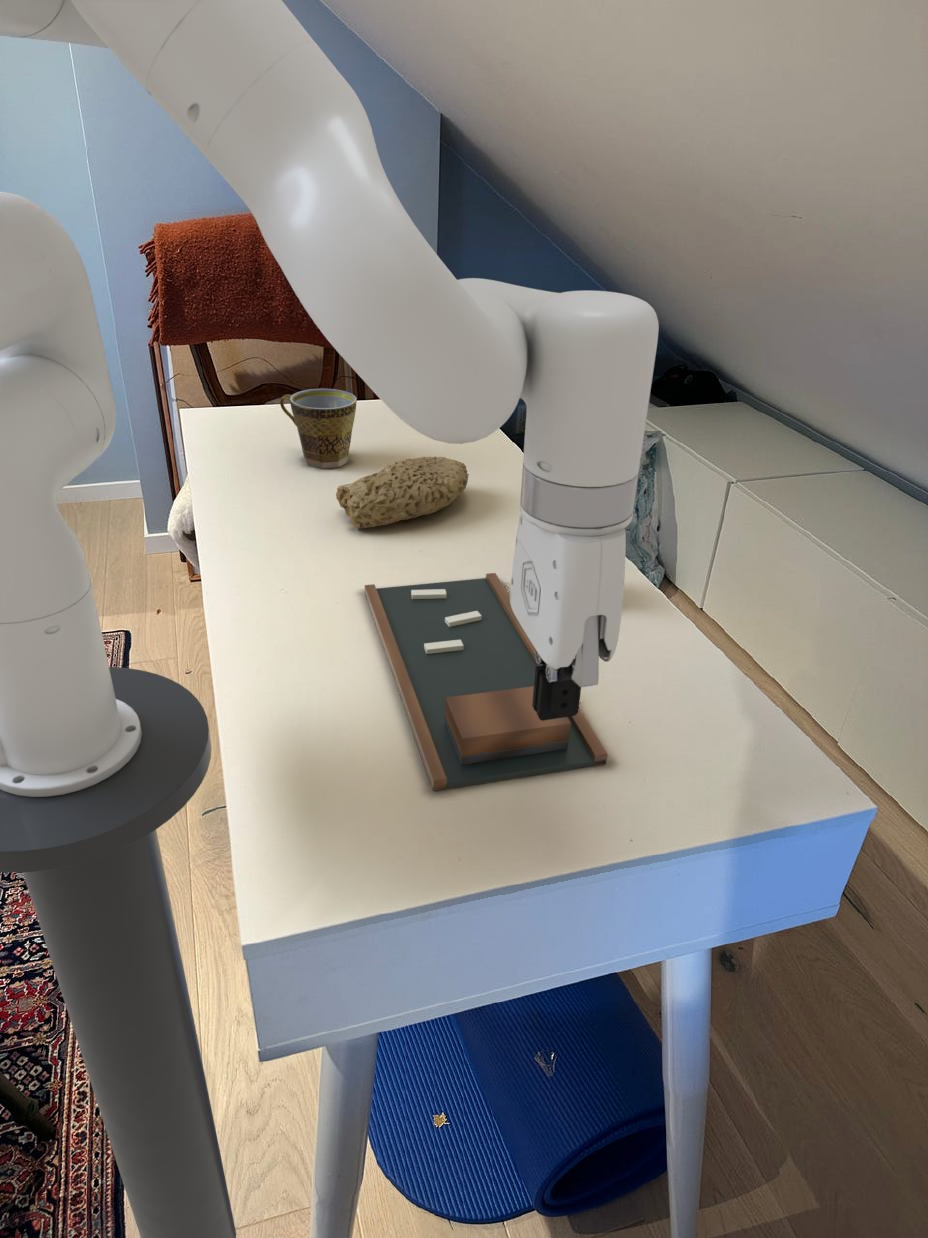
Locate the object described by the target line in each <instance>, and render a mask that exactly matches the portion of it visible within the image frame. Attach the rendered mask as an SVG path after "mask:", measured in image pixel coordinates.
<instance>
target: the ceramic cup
mask: <svg viewBox="0 0 928 1238" xmlns="http://www.w3.org/2000/svg"><path fill="white" fill-rule="evenodd" d="M285 399H286V400H288V401H289V404H290V409H291V412H290V411H288V409H287V408H286V406H285V403H284V401H285ZM357 402H358V401H357V397H356V395H354V394H353V393H351V392H348V391H345V390H341V389H335V388H313V389H312V388H309V389H304V390H301V391H300V390H299V391H298V392H295V393H293V394H284V395H282V396H281V398H280V400H279V406H280V408H281V410H282V411H283V412H284V414H285V415H286V416H287V417H288V418H289V419H290V420H291V421H292V422H293V424H294V426H295V427H296V428H297V429H296V430H297V434H298V436H299V440H300V446H301V451H302V454H303V459H304V461H305V463H306V464H307V466H309V467H313V468H317V469H321V470H324V469H335V468H341V467H342V466H343V465H345V464H348V461H349V455H350V448H351V441H352V434H353V433H352V432H353V426H354V424H355V417H356V411H357Z"/></svg>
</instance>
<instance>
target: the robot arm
mask: <svg viewBox="0 0 928 1238" xmlns="http://www.w3.org/2000/svg"><path fill="white" fill-rule="evenodd" d="M0 36H1V37H9V38H18V39H19V38H20V39H29V40H38V41H39V40H40V41H49V42H59V43H66V44H67V43H68V44H76V45H82V46H92V47H96V48H104V49H109V50H110V51H111V52H112V54H114V56H115V57H116V58H117V59H118V60H119V61H120V63H121V64H122V65H123V66H124V67H125V68H126V70H128V72H129V73H130V74H131V75H132V76H133V77H134V78H135V80H136V81H137V82H138V83H139V84H140V85H141V86H142V87H143V88H144V90H145V91H146V93H148V94H149V95H150V96H151V97H152V98H153V99H154V100H155V101H156V102H157V104H158V105H159V107H161V108H162V110H164V112H165V113H166V114H167V115H168V116H169V117H170V118H171V120H172V121H173V122H174V123H175V124H176V125H177V126H178V127H179V129H180V130H181V131H182V133H184V134H185V135H186V137H187V138H188V139H189V140H190V141H191V142H192V143H193V144H194V146H196V148H197V149H198V150H199V151H200V153H201V154H202V155H203V156H204V157H205V159H206V160H207V161H208V162H209V163H210V164H211V165H212V167H213V168H214V169H215V170H216V172H218V174H220V176H221V177H222V178H223V180H225V182H226V183H227V184H228V185H229V186H230V187H231V188H232V189H233V191H234V192H235V193H236V194H237V195H238V196H239V198H240V199H241V200H242V201H243V203H244V204H245V205H246V207H247V208H248V209H249V211H250V212H251V215H252V216H253V218H254V219H255V222H256V224H257V226H258V229H259V231H260V233H261V235H262V237H263V239H264V240H263V241H265V243H266V245H267V247H268V249H269V251H270V252H271V254H272V255H273V258H274V259H275V261H276V262H277V264H278V265H279V267H280V269H281V271H282V272H283V274H284V276H285V278H286V280H287V281H288V283H289V285H290V286H291V287H290V288H292V290H293V292H294V294H295V296H296V297H297V298H298V300H299V302H300V304H301V305H302V306H303V308H304V310H305V311H306V313H307V314H308V316H309V318H311V320H312V321H313V324H314V325H315V326H316V327H317V329H319V330H320V333H322V335H323V336H324V337H325V339H326V340H327V341H328V342H329V344H330V345H331V346H332V347H333V348H334V349H335V350H336V352H337V353H338V354H339V356H341V358H343V360H344V361H345V362H346V363H347V364H348V366H350V368H351V369H352V370H353V371H354V372H355V373H356V374H357V375H358V377H360V378H361V380H362V381H363V382H364V383H365V384H366V385H367V386H368V387H369V388H370V389H371V391H372V392H373V393H374V394H375V395H376V396H377V397H378V398H379V399H380V401H381V402H383V403H384V404H385V406H386V407H387V408H388V409H389V410H390V411H391V412H392V413H393V414H394V415H395V416H396V417H398V418H399V419H400V420H401V421H402V422H403V423H405V424H406V425H407V426H409V427H410V428H411V429H413V430H414V431H416V432H417V433H419V434H421V435H423V436H425V437H427V438H429V439H432V440H434V441H437V442H442V443H445V444H455V445H457V444H458V445H462V444H468V443H475V442H477V441H480V440H482V439H485V438H488V437H489V436H490V435H492V434H494V433H495V432H497V431H498V430H499V429H500V428H501V427H502V426H503V425H504V424H505V423H507V421H508V420H509V419H510V417H511V416H512V414H513V413H514V412H515V410H516V408H517V406H518V403H519V401H520V399H521V400H523V402H524V404H525V406H526V411H525V412H526V413H525V427H524V428H525V429H524V441H523V442H524V443H523V456H522V457H523V459H522V471H521V472H522V473H521V487H520V488H521V489H520V503H519V505H520V506H519V511H520V513H519V514H520V515H519V519H518V525H517V531H516V536H515V543H514V552H513V560H512V561H513V562H512V569H511V578H510V579H511V580H510V589H509V596H510V604H511V608H512V610H513V612H514V614H515V616H516V618H517V620H518V621H519V623H520V625H521V626H522V628H523V630H524V631H525V633H526V635H527V636H528V638H529V640H530V641H531V643H532V644H533V646H534V648H535V659H536V662H537V664H538V665H540V664H542V666H537V667H536V668H535V679H534V691H533V702H532V706H533V708H534V710H535V711H536V712H537V715H538V717H539V719H540V720H542V721H544V720H551V719H557V718H564V717H570V716H575V715H576V714H577V713H578V710H579V709H580V701H581V692H582V688H587V687H593V686H594V687H595V686H598V684H599V661H600V660H602V661H603V662H606V663H608V662H610V661H611V660H612V658H613V657H614V655H615V653H616V649H617V646H618V641H619V635H620V631H621V630H620V629H621V623H622V616H623V615H622V614H623V604H624V591H625V577H626V549H627V546H626V545H627V542H626V541H627V539H626V538H627V535H626V534H627V531H626V529H625V528H627V527H628V526H629V525H630V524H631V523H632V520H633V515H634V509H635V502H636V496H637V495H636V494H637V490H638V489H637V488H638V481H639V475H640V467H641V457H642V453H643V446H644V440H645V433H646V424H647V417H648V413H649V411H648V410H649V403H650V398H651V389H652V384H653V378H654V377H653V376H654V370H655V362H656V355H657V348H658V342H659V341H658V340H659V329H660V327H659V326H660V325H659V324H660V323H659V319H658V314H657V312H656V311H655V309H654V307H652V306H651V304H649V302H647V301H645V300H643V299H642V298H639V297H636V296H633V295H630V294H626V293H620V292H616V291H606V290H589V289H587V290H585V289H583V290H569V291H563V292H555V291H548V290H543V289H538V288H537V289H536V288H531V287H526V286H521V285H517V284H512V283H508V282H503V281H499V280H493V279H487V278H478V277H468V278H459V279H457V278H456V277H455V276H454V274H453V273H452V272H451V270H450V269H449V268H448V266H446V264H445V263H444V261H443V260H442V259H441V258H440V257H439V255H438V254H437V253H436V251H435V250H434V249H433V247H432V246H431V245H430V244H429V242H428V241H427V240H426V239H425V237H424V235H423V234H422V232H420V230H419V228H418V227H417V226H416V225H415V223H414V222H413V220H412V218H411V217H410V215H409V214H408V212H407V210H406V209H405V207H404V206H403V204H402V203H401V200H400V199H399V197H398V195H397V193H396V192H395V190H394V187H393V185H392V184H391V182H390V180H389V178H388V176H387V174H386V171H385V169H384V167H383V164H382V161H381V159H380V156H379V152H378V148H377V143H376V140H375V137H374V133H373V128H372V126H371V122H370V119H369V117H368V114H367V112H366V109H365V108H364V106H363V104H362V102H361V100H360V98H359V97H358V95H357V93H356V91H355V89H353V87H352V86H351V85H350V84H349V82H348V81H347V80H346V79H345V78H344V76H343V75H342V74H341V72H340V71H338V69H337V68H336V66H335V65H334V64H333V63H332V62H331V60H330V58H328V56H327V55H326V54H325V52H324V51H323V50H322V49H321V48H320V46H319V45H318V44H317V43H316V42H315V40H314V39H313V38H312V36H310V33H308V31H307V30H306V28H304V26H303V25H302V24H301V23H300V21H299V20H298V19H297V18H296V16H295V15H294V13H293V12H292V11H291V10H290V9H289V8H288V6H287V4H286V3H285V2H284V1H283V0H0ZM81 256H82V255H81V254H80V252H79V250H78V249H77V247H76V245H75V243H74V241H73V240H72V238H71V236H70V235H69V233H68V232H67V231H66V229H65V228H64V227H63V225H62V224H61V223H60V222H59V221H58V220H57V219H56V218H55V217H54V216H53V215H52V214H51V213H50V212H48V211H47V210H46V209H45V208H44V207H43V206H41V205H39V204H37V203H36V202H34V201H32V200H30V199H29V198H26V197H24V196H22V195H19V194H15V193H13V192H6V191H0V789H1V790H3V791H5V792H8V793H12V794H15V795H20V796H29V797H49V796H56V795H63V794H67V793H71V792H75V791H79V790H82V789H85V788H87V787H90V786H92V785H95V784H97V783H99V782H101V781H103V780H105V779H106V778H108V777H110V776H111V775H113V774H114V773H116V772H117V771H118V770H120V769H121V768H122V767H123V766H124V765H125V764H126V763H127V762H129V761H130V759H131V758H132V757H133V755H134V754H135V753H136V751H137V749H138V747H139V745H140V742H141V736H142V732H141V725H140V721H139V718H138V715H137V714H136V712H135V711H134V710H133V709H132V708H131V707H130V706H129V705H127V704H126V703H124V702H122V701H120V700H118V699H116V698H115V693H114V689H113V684H112V679H111V674H110V669H109V667H110V664H109V661H108V656H107V655H108V654H107V651H106V646H105V642H104V637H103V632H102V626H101V622H100V617H99V613H98V609H97V608H98V607H97V603H96V597H95V593H94V588H93V584H92V579H91V577H90V571H89V566H88V563H87V559H86V555H85V552H84V549H83V546H82V544H81V542H80V539H79V538H78V536H77V535H76V534H75V532H74V531H73V529H72V527H70V525H69V524H68V523H67V521H66V519H65V518H64V516H63V515H62V513H61V512H60V510H59V508H58V503H57V496H58V494H59V492H60V491H61V490H63V488H65V487H66V486H67V485H69V483H70V482H71V481H72V480H74V479H75V478H76V477H78V476H79V475H80V474H81V473H83V472H84V471H85V470H87V469H88V468H89V467H90V466H91V465H93V464H94V463H95V462H96V461H97V460H98V459H99V458H100V457H102V455H103V454H104V453H105V452H106V451H107V449H108V448H109V446H110V444H111V442H112V440H113V436H114V434H115V431H116V430H115V429H116V421H117V417H116V416H117V415H116V414H117V413H116V411H117V410H116V402H115V395H114V389H113V385H112V381H111V376H110V375H111V374H110V371H109V365H108V361H107V357H106V351H105V347H104V343H103V338H102V333H101V329H100V325H99V320H98V315H97V311H96V305H95V301H94V297H93V296H94V295H93V293H92V289H91V284H90V280H89V276H88V273H87V269H86V266H85V264H84V262H83V259H82V257H81ZM599 659H600V660H599Z"/></svg>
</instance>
